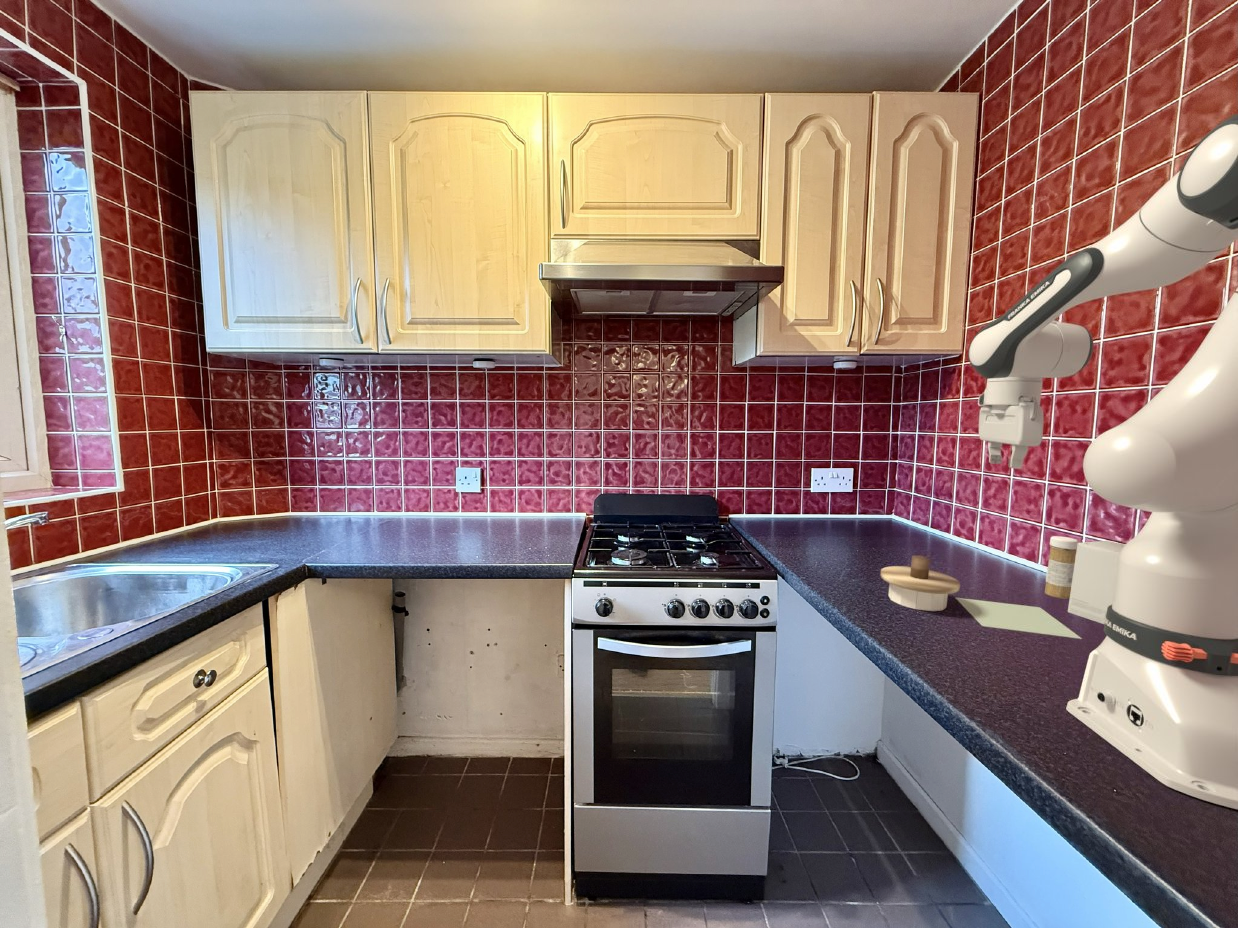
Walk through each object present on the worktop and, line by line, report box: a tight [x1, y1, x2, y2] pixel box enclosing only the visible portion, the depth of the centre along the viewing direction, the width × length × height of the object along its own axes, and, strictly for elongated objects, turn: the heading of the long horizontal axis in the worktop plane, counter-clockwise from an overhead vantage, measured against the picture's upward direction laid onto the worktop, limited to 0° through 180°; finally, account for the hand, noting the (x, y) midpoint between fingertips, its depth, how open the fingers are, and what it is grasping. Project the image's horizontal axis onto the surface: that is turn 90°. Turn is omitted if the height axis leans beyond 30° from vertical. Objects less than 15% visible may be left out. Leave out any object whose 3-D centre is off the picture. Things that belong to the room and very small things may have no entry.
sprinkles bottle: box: [1044, 535, 1079, 600], centre depth 110 cm, size 5×5×13 cm
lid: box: [880, 555, 961, 595], centre depth 104 cm, size 14×14×5 cm
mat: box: [955, 597, 1083, 640], centre depth 98 cm, size 15×15×1 cm
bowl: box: [888, 583, 949, 612], centre depth 105 cm, size 10×10×5 cm
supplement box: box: [1067, 540, 1126, 625], centre depth 98 cm, size 9×9×15 cm
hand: (1004, 465), depth 103 cm, fingers open, 8 cm apart
